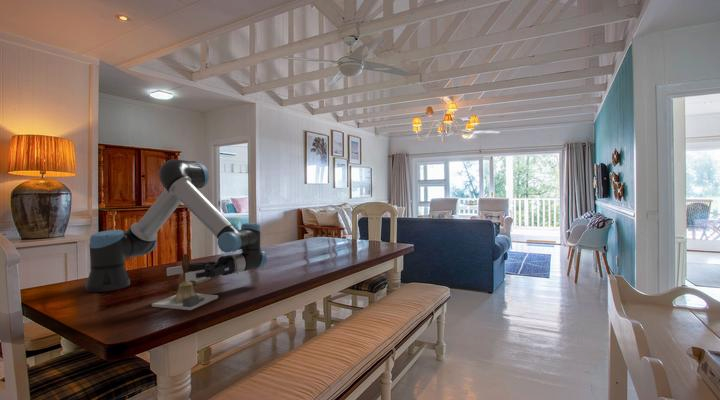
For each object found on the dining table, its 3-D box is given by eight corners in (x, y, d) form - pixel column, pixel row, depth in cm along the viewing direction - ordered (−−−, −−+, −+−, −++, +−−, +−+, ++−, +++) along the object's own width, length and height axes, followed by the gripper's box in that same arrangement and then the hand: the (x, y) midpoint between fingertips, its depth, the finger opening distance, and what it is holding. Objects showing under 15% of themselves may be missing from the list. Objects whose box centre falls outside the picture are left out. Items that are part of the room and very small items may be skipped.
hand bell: (182, 295, 132) (181, 252, 132) (203, 295, 131) (202, 252, 130) (167, 301, 124) (166, 256, 123) (189, 302, 123) (188, 256, 122)
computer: (196, 286, 151) (196, 278, 151) (180, 285, 153) (180, 277, 153) (220, 277, 166) (220, 270, 166) (205, 276, 168) (205, 269, 168)
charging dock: (151, 306, 123) (151, 296, 123) (182, 295, 136) (182, 286, 136) (190, 310, 118) (190, 300, 118) (218, 297, 132) (217, 288, 132)
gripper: (249, 278, 134) (194, 291, 117) (213, 269, 149) (160, 280, 132) (249, 258, 134) (194, 268, 117) (213, 252, 149) (159, 260, 132)
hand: (176, 274), depth 124 cm, fingers open, 13 cm apart
